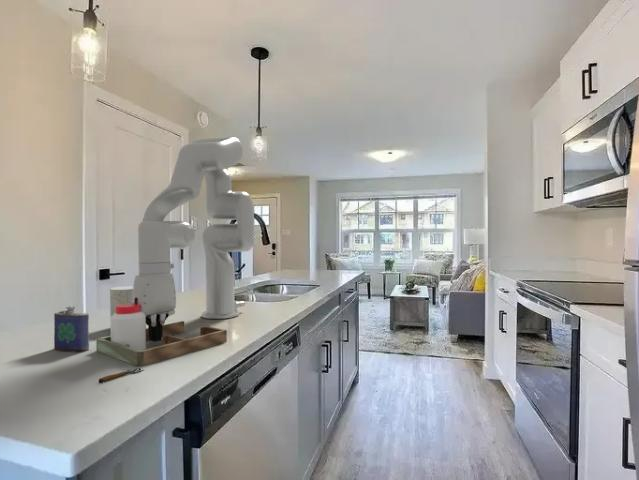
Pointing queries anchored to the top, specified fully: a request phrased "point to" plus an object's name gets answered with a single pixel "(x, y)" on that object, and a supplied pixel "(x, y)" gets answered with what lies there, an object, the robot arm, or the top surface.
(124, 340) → the pill bottle
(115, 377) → the can opener
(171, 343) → the wooden frame
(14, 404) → the top surface
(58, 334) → the flask
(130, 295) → the cup
